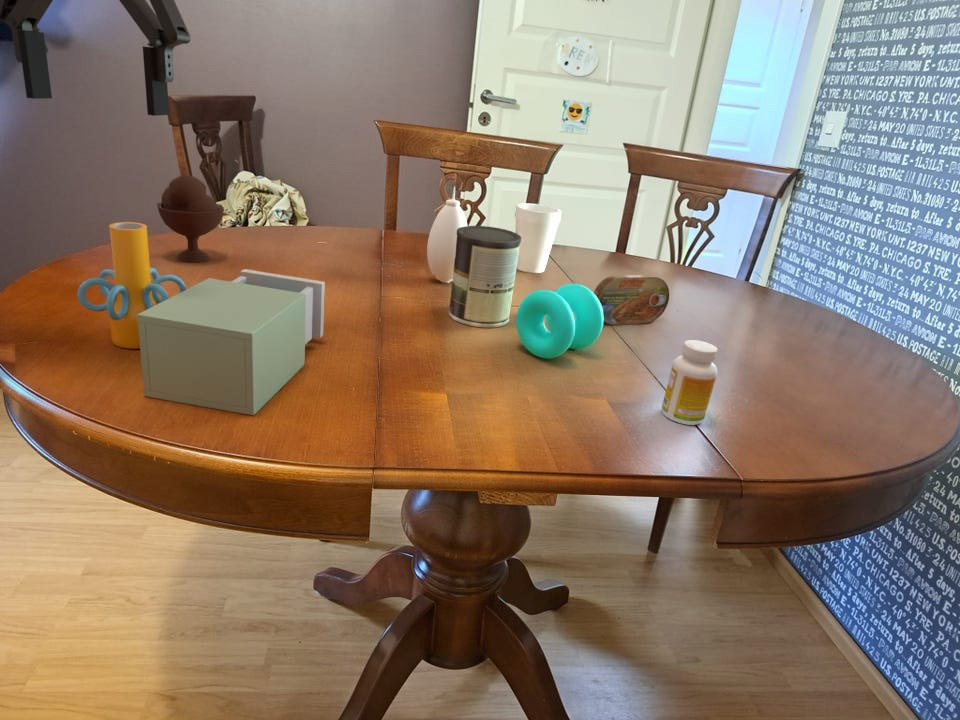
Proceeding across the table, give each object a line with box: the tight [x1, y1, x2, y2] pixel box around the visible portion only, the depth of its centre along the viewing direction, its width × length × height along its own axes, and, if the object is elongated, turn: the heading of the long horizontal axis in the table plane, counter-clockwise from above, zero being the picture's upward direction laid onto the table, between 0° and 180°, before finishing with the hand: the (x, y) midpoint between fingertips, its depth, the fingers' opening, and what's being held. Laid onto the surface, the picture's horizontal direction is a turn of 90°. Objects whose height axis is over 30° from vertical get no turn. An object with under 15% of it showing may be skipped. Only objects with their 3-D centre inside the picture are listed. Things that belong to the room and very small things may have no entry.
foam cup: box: [514, 202, 562, 274], centre depth 140 cm, size 10×9×13 cm
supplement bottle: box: [661, 339, 718, 426], centre depth 83 cm, size 5×5×10 cm
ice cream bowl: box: [156, 174, 225, 264], centre depth 118 cm, size 11×11×15 cm
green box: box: [137, 277, 306, 416], centre depth 77 cm, size 15×13×10 cm
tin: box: [593, 274, 670, 326], centre depth 115 cm, size 15×3×8 cm, turn 114°
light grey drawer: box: [230, 268, 326, 346], centre depth 88 cm, size 20×11×8 cm, turn 172°
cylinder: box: [76, 221, 187, 350], centre depth 83 cm, size 12×10×15 cm
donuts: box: [515, 283, 605, 360], centre depth 98 cm, size 10×10×10 cm
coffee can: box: [448, 225, 522, 329], centre depth 107 cm, size 10×10×14 cm
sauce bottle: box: [426, 185, 468, 284], centre depth 123 cm, size 8×8×18 cm
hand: (98, 106), depth 71 cm, fingers open, 13 cm apart
